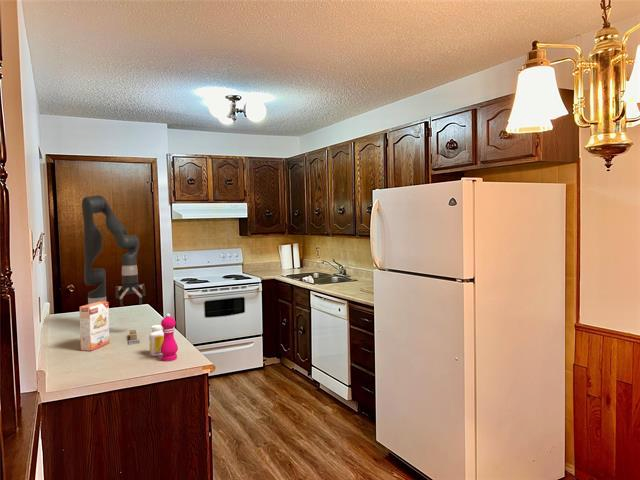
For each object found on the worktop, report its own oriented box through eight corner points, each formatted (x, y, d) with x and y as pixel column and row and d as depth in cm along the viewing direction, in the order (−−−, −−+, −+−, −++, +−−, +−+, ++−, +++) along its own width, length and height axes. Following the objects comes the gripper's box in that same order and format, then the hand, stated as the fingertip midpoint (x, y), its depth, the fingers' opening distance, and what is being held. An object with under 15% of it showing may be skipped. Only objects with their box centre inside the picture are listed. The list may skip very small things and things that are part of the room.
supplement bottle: (168, 352, 216) (167, 324, 215) (159, 357, 209) (158, 328, 209) (156, 351, 218) (155, 323, 217) (146, 355, 212) (145, 327, 211)
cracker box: (91, 351, 220) (89, 306, 218) (80, 351, 221) (78, 306, 220) (110, 343, 233) (109, 301, 232) (99, 342, 235) (98, 301, 233)
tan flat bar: (127, 336, 247) (127, 330, 246) (137, 335, 249) (137, 329, 248) (128, 344, 230) (128, 338, 230) (139, 343, 232) (139, 337, 232)
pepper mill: (163, 356, 209) (161, 312, 208) (179, 356, 210) (178, 311, 209) (158, 362, 202) (157, 315, 201) (176, 361, 203) (174, 315, 202)
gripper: (144, 272, 249) (145, 303, 250) (114, 274, 243) (116, 305, 244) (145, 273, 242) (146, 305, 243) (114, 275, 237) (116, 308, 237)
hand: (131, 305), depth 244 cm, fingers open, 8 cm apart
